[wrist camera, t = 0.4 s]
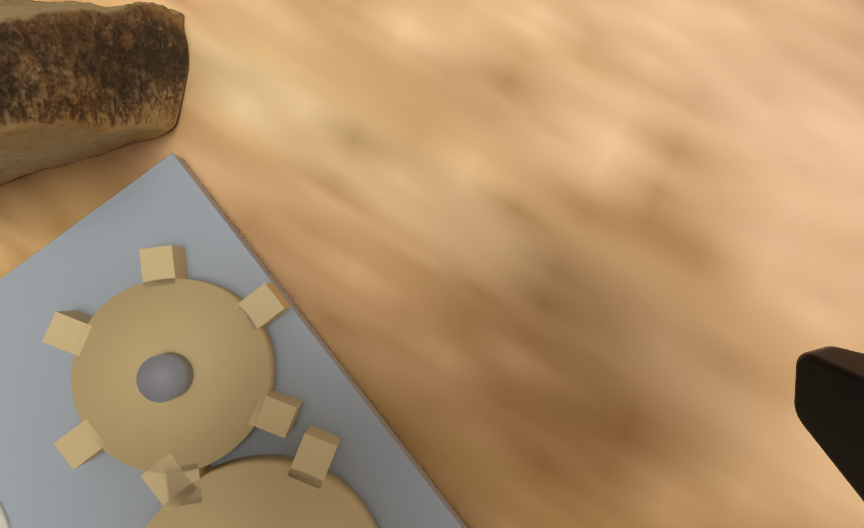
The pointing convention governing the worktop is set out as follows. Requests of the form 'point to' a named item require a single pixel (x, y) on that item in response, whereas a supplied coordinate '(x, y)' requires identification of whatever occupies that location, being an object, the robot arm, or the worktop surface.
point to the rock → (85, 80)
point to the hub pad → (4, 518)
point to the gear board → (183, 385)
